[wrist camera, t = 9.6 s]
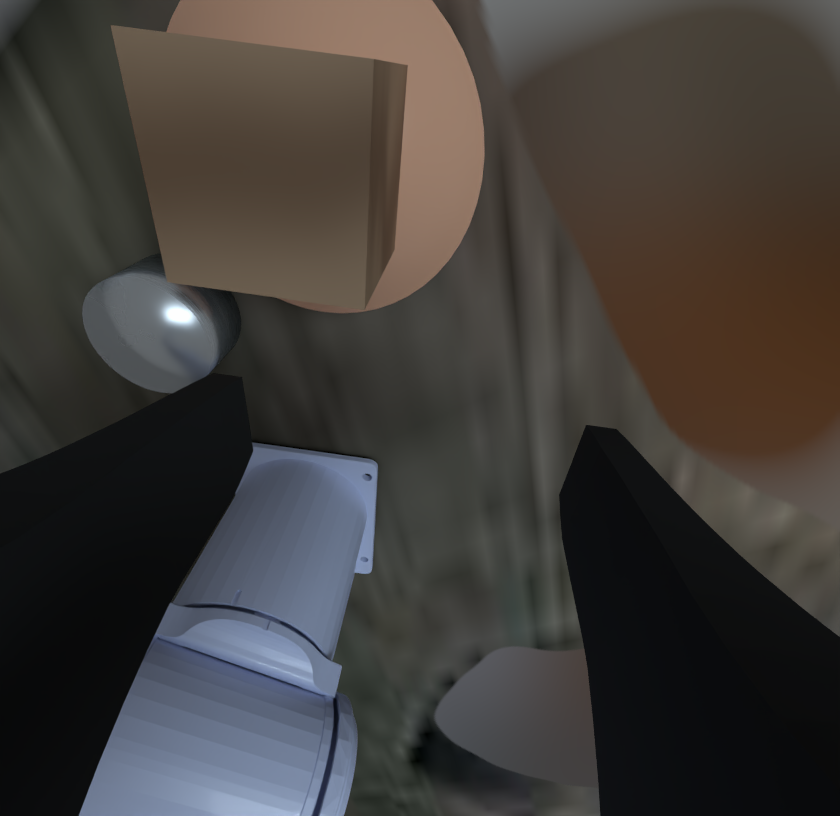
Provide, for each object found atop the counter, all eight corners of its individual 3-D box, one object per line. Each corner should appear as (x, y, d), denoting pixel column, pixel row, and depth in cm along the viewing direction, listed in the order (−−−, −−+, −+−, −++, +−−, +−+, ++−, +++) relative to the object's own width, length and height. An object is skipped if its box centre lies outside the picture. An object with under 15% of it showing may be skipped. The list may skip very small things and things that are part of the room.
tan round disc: (461, 302, 19) (458, 329, 17) (221, 271, 19) (191, 294, 17) (511, -28, 13) (517, -48, 11) (168, -66, 14) (113, -91, 11)
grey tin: (248, 364, 22) (220, 400, 20) (146, 351, 22) (105, 384, 20) (233, 260, 19) (197, 286, 17) (115, 245, 19) (63, 269, 17)
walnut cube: (394, 249, 16) (364, 310, 12) (248, 229, 16) (167, 282, 12) (407, 65, 13) (374, 59, 9) (227, 42, 13) (110, 25, 9)
